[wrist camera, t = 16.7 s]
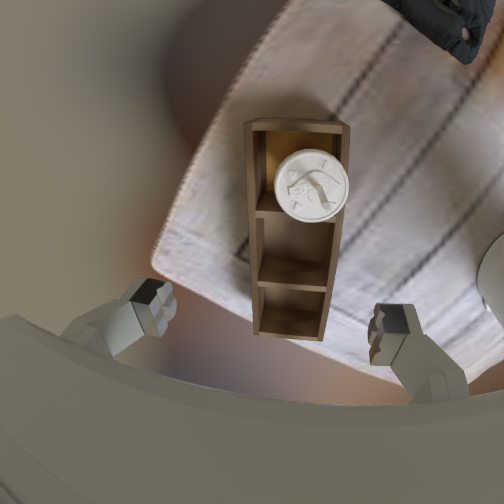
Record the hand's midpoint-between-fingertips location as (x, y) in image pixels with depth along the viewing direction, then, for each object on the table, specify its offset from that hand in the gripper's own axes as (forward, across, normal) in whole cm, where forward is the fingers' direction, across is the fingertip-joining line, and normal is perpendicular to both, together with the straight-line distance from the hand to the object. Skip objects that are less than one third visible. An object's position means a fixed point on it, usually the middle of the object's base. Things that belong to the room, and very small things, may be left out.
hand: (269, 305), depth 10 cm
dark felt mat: (+26, -20, -28) cm, 43 cm away
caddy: (+25, 0, +9) cm, 27 cm away
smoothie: (+24, 0, 0) cm, 24 cm away
